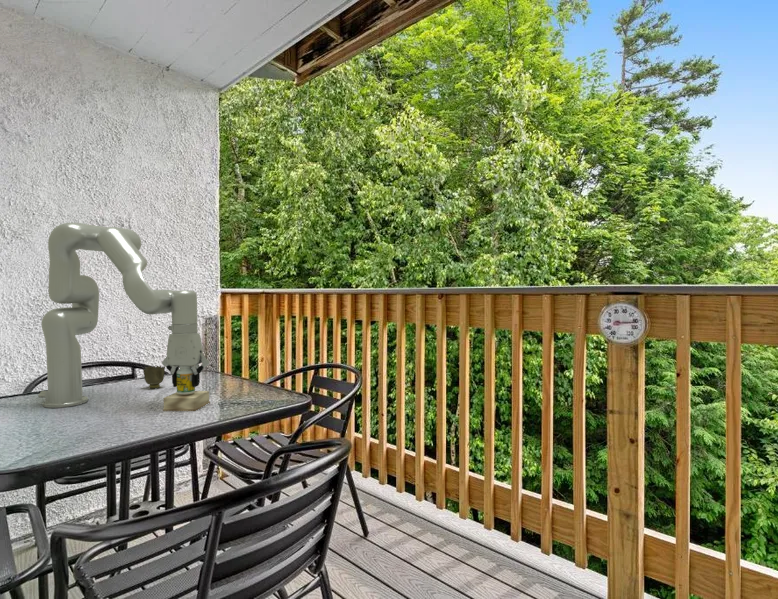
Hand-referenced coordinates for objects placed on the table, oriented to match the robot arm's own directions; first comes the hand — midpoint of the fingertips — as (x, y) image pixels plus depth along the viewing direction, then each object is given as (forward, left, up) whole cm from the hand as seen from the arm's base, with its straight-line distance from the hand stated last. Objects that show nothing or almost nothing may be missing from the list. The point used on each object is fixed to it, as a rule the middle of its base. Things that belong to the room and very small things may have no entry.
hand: (186, 385), depth 158 cm
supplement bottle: (0, 0, -2) cm, 2 cm away
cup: (-26, +27, -7) cm, 38 cm away
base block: (0, 0, -7) cm, 7 cm away
